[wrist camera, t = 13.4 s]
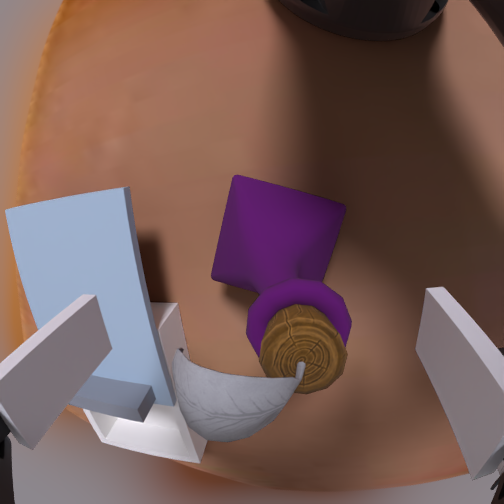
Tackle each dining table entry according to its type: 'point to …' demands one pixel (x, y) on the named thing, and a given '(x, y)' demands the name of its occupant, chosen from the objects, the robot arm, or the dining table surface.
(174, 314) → the storage box
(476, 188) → the dining table surface
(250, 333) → the perfume bottle
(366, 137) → the dining table surface
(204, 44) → the dining table surface
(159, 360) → the lid
